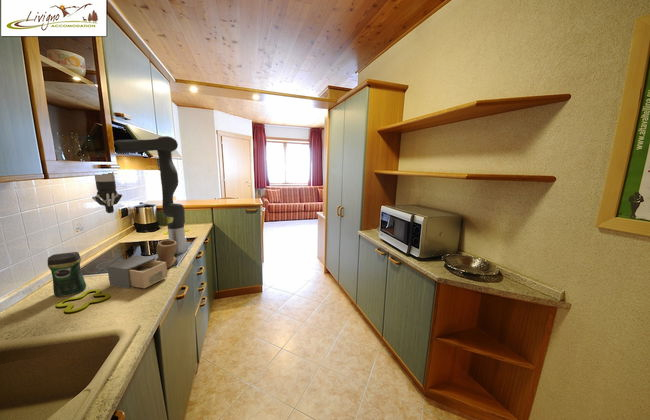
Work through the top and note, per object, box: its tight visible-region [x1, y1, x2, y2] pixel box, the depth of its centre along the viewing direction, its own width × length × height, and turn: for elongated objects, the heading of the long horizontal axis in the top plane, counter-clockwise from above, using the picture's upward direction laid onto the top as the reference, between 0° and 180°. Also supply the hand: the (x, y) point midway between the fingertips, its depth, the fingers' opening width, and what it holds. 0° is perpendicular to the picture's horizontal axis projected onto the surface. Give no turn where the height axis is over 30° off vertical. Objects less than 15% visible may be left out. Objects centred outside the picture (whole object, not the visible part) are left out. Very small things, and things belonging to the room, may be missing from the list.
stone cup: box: [156, 239, 178, 269], centre depth 133 cm, size 15×12×15 cm
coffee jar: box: [47, 251, 87, 298], centre depth 102 cm, size 10×8×19 cm
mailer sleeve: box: [106, 255, 156, 290], centre depth 115 cm, size 14×12×10 cm
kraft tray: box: [128, 260, 169, 289], centre depth 114 cm, size 12×20×8 cm, turn 77°
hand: (110, 212), depth 122 cm, fingers closed
